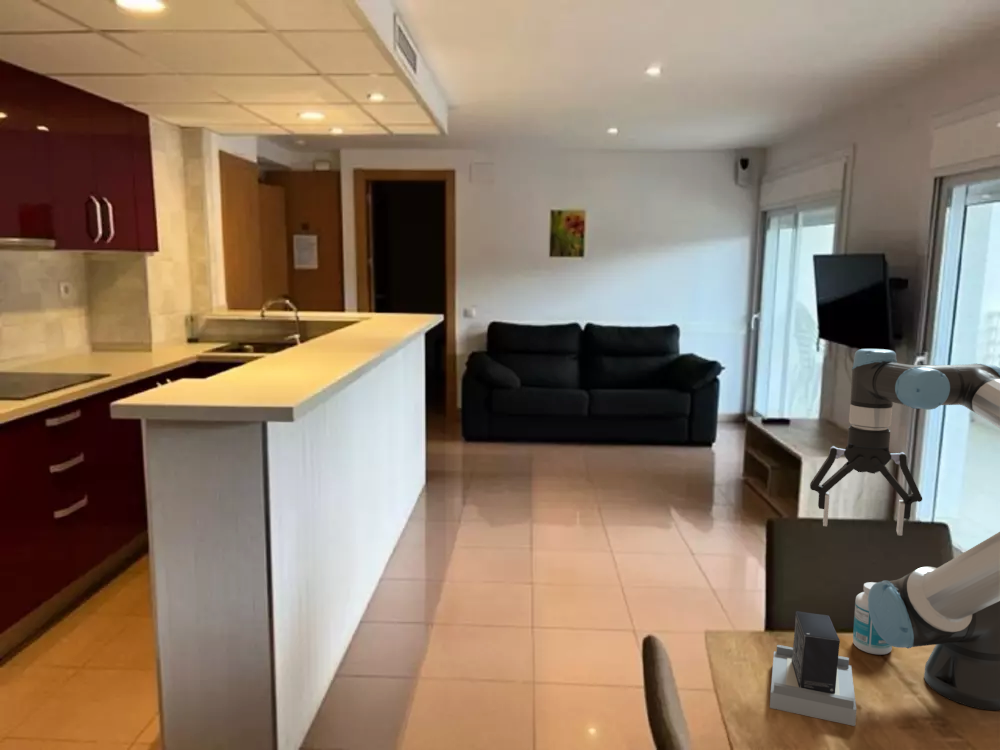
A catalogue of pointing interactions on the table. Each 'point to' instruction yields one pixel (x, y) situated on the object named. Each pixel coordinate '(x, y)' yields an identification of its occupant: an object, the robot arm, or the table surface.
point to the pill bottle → (867, 627)
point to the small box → (815, 652)
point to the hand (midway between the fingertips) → (861, 528)
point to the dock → (812, 691)
